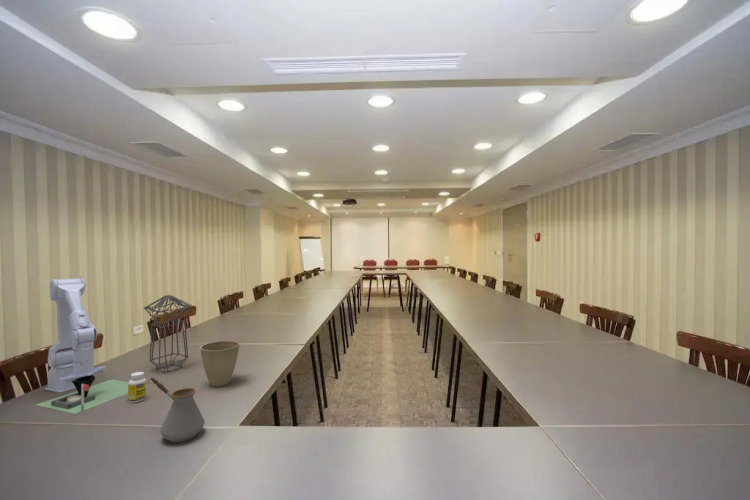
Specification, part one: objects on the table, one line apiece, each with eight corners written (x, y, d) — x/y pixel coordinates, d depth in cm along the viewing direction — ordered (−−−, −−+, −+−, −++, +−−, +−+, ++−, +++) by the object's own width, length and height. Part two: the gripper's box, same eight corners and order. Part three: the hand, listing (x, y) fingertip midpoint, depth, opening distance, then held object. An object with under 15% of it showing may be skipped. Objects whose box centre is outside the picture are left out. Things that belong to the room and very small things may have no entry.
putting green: (35, 405, 122) (35, 404, 122) (111, 380, 147) (111, 379, 147) (75, 414, 115) (75, 413, 115) (147, 386, 140) (147, 385, 140)
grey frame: (51, 405, 121) (51, 380, 121) (78, 396, 129) (78, 372, 130) (85, 412, 116) (85, 386, 116) (111, 402, 124) (111, 377, 124)
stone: (64, 404, 123) (64, 398, 123) (76, 399, 126) (76, 394, 126) (72, 405, 121) (72, 399, 121) (84, 400, 125) (84, 395, 125)
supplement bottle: (136, 403, 124) (136, 376, 124) (124, 402, 125) (124, 375, 125) (149, 397, 129) (149, 371, 129) (137, 396, 130) (137, 370, 130)
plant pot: (191, 387, 139) (192, 347, 139) (220, 375, 153) (220, 339, 153) (219, 392, 134) (219, 351, 134) (246, 379, 147) (247, 342, 148)
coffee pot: (212, 430, 105) (213, 381, 105) (177, 450, 95) (178, 395, 95) (167, 416, 114) (168, 371, 114) (130, 432, 104) (131, 383, 104)
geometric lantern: (194, 367, 164) (193, 294, 163) (159, 378, 150) (158, 298, 150) (176, 361, 172) (176, 291, 171) (142, 371, 159) (141, 295, 158)
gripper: (68, 367, 119) (67, 406, 119) (111, 355, 133) (111, 390, 133) (54, 365, 121) (54, 404, 121) (98, 354, 135) (98, 388, 135)
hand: (83, 397), depth 127 cm, fingers closed
